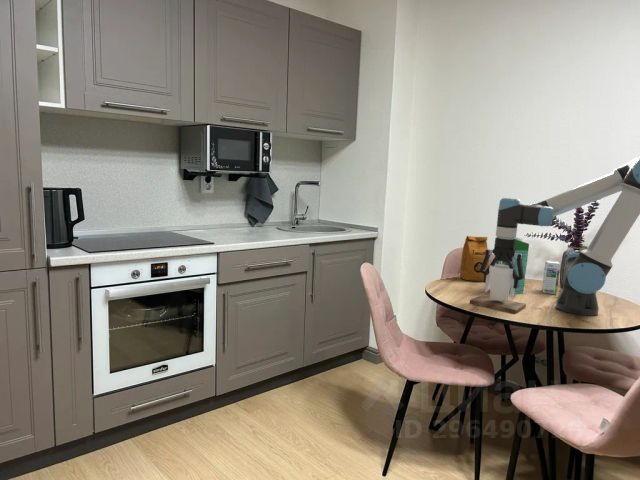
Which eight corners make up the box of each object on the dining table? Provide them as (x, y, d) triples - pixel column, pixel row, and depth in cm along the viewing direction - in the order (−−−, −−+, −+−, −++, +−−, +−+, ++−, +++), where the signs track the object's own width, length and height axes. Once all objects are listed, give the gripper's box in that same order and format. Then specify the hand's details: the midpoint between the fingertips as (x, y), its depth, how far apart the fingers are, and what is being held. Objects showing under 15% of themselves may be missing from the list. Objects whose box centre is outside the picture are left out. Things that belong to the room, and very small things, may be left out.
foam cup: (484, 298, 192) (487, 266, 190) (488, 294, 200) (491, 263, 198) (509, 303, 188) (513, 270, 186) (512, 298, 196) (516, 266, 194)
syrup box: (543, 292, 222) (547, 261, 220) (541, 290, 228) (545, 259, 226) (556, 294, 220) (561, 263, 218) (555, 291, 226) (559, 261, 224)
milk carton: (523, 293, 218) (530, 238, 215) (507, 294, 215) (514, 238, 211) (508, 288, 227) (515, 235, 223) (493, 289, 223) (499, 235, 220)
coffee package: (489, 283, 236) (494, 238, 233) (464, 281, 235) (469, 237, 232) (481, 278, 246) (486, 235, 243) (457, 277, 245) (462, 234, 242)
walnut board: (525, 307, 194) (525, 303, 194) (515, 313, 184) (516, 310, 183) (481, 298, 205) (481, 294, 205) (469, 303, 195) (469, 299, 194)
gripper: (537, 240, 187) (530, 297, 190) (481, 233, 200) (475, 286, 203) (532, 242, 181) (525, 300, 184) (474, 234, 194) (468, 289, 197)
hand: (499, 293), depth 193 cm, fingers closed on foam cup, 9 cm apart
